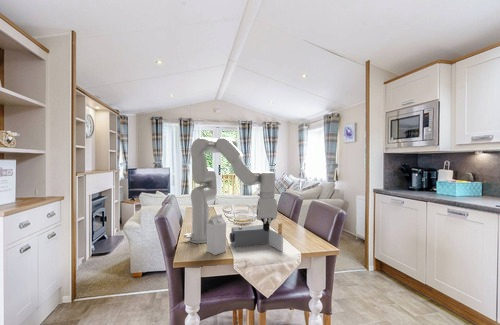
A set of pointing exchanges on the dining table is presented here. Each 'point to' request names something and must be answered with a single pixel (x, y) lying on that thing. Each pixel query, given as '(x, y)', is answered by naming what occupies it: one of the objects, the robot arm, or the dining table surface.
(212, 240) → the milk carton
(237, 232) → the box
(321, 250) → the dining table surface
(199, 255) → the dining table surface
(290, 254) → the dining table surface
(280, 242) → the side door
